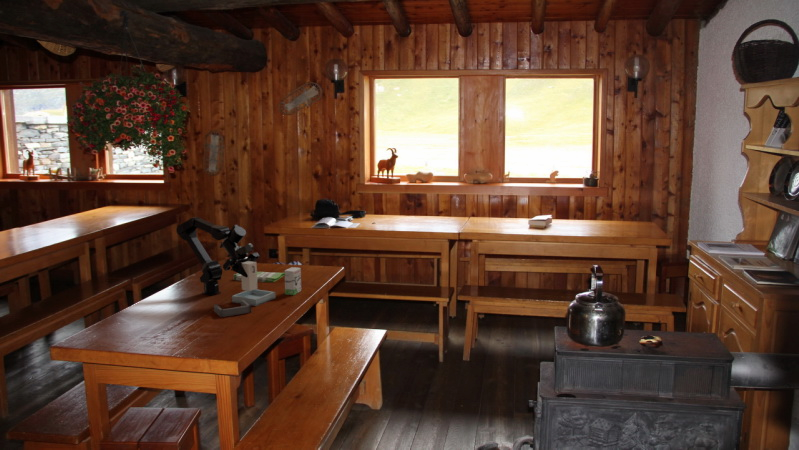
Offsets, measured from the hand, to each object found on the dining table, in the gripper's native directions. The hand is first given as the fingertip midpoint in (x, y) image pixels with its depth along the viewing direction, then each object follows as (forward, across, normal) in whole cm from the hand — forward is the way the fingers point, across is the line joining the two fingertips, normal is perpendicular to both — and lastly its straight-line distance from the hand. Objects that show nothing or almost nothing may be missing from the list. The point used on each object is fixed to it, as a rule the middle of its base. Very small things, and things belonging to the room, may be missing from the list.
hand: (251, 275), depth 304 cm
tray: (+8, +2, +10) cm, 13 cm away
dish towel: (-11, +35, +30) cm, 47 cm away
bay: (+11, -16, +7) cm, 20 cm away
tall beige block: (+4, 0, +6) cm, 7 cm away
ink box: (+13, +22, +5) cm, 26 cm away
